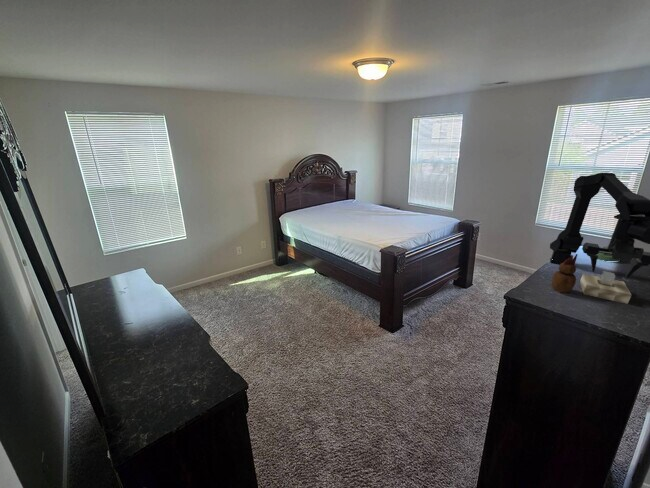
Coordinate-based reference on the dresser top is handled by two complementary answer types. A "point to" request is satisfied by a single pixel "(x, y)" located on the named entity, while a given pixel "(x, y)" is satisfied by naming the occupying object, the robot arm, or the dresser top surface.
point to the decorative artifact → (605, 256)
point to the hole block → (605, 289)
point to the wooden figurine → (565, 276)
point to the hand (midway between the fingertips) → (609, 274)
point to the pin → (607, 278)
